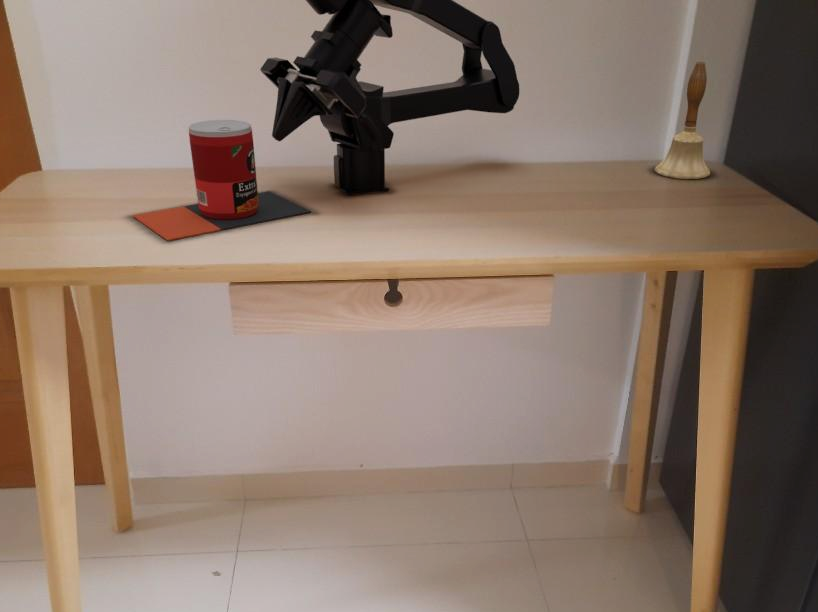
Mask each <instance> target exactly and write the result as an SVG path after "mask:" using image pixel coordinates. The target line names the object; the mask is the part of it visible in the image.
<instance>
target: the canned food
mask: <svg viewBox="0 0 818 612" xmlns="http://www.w3.org/2000/svg"><path fill="white" fill-rule="evenodd" d="M188 136H189V146H190V154H191V161H192V167H193V175H194V182H195V191H196V197H197V204H198V206H199V209H200V211H201V213H202V215H204V216H206V217H208V218H212V219H220V220H231V219H240V218H245V217H249V216H252V215H253V214H255V213H256V212H257V210H258V205H259V202H258V193H259V191H258V180H257V169H256V157H255V156H256V155H255V145H254V135H253V128H252V124H251V123H250V122H246V121H243V120H237V119H210V120H202V121H198V122H195V123H192V124H190V125H188Z"/></svg>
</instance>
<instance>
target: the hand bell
mask: <svg viewBox="0 0 818 612" xmlns="http://www.w3.org/2000/svg"><path fill="white" fill-rule="evenodd" d="M706 69H707V68H706V62H704V61H696V62H695V64H694V68H693V69H692V71H691V74H690V76H689V79H688V82H687V89H686V100H687V101H686V102H687V109H686V110H687V111H686V116H685V121H684V127H683V131H682V132H680V133H677V134H676V135H674V136H673V137H672V140H671V144H670V147H669V149H668V152H667V154H666V156H665V157H664V159H663V160H662V161H661V162H659V163H658V164H657V165H656V166H655V167H654V172H655V173H656V174H658V175H660V176H663V177H667V178H671V179H678V180H699V179H700V180H701V179H705V178H708V177H710V175H711V172H710V169H709V167H708V166H707V164H706V163H705V160H704V138H703V137H702V136H701V135H699V134H698V133H697V120H698V114H699V108H700V105H701V103H702V101H703V98H704V95H705V93H706V88H707V84H708V83H707V82H708V81H707V79H708V77H707V76H708V75H707V70H706Z"/></svg>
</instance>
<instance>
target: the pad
mask: <svg viewBox="0 0 818 612" xmlns="http://www.w3.org/2000/svg"><path fill="white" fill-rule="evenodd" d="M184 206H185V205H184ZM184 206H178V207H172V208H167V209H161V210H156V211H149V212H143V213H138V214H133V215H132V217H133V218H134V219H135V220H137V221H138V222H140V224H142V225H144V226H145V227H147V228H148V229H150V230H151V231H152V232H153V233H155V234H157V235H158V236H159V237H161V238H162V239H164V240H165V241H166V242H171V241H175V240H180V239H185V238H186V239H187V238H191V237H196V236H201V235H205V234H210V233H211V234H212V233H215V232H220V231H222V230H221V229H220V228H218V227H217V226H215V225H213V224H212V223H210V222H208V221H207V220H205V219H203V218H202V217H200V216H198V215H197V214H195V213H194V212H192V211H190V210H189V209H187V208H185V207H184Z"/></svg>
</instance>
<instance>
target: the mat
mask: <svg viewBox="0 0 818 612" xmlns="http://www.w3.org/2000/svg"><path fill="white" fill-rule="evenodd" d="M258 202H259V205H258V210H257V212H256V213H255V214H253V215H252V216H249V217H245V218H240V219H231V220H220V219H212V218H208V217H206V216H204V215H202V213H201V211H200V209H199V206H198V203H193V204H188V205H184V207H185V208H187V209H189V210H190V211H192V212H194V213H195V214H197V215H198V216H200V217H202V218H203V219H205V220H207V221H208V222H210V223H212V224H213V225H215V226H217V227H218V228H220V229H221V231H226V230H230V229H231V230H232V229H235V228H240V227H245V226H250V225H251V226H252V225H255V224H260V223H265V222H270V221H275V220H280V219H285V218H291V217H296V216H301V215H306V214H311V213H312V210H310V209H308V208H305V207H304V206H302V205H299V204H296V203H295V202H293V201H291V200H289V199H287V198H285V197H282V196H280V195H278V194H276V193H274V192H273V191H270V190H268V191H262V192H258Z"/></svg>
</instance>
